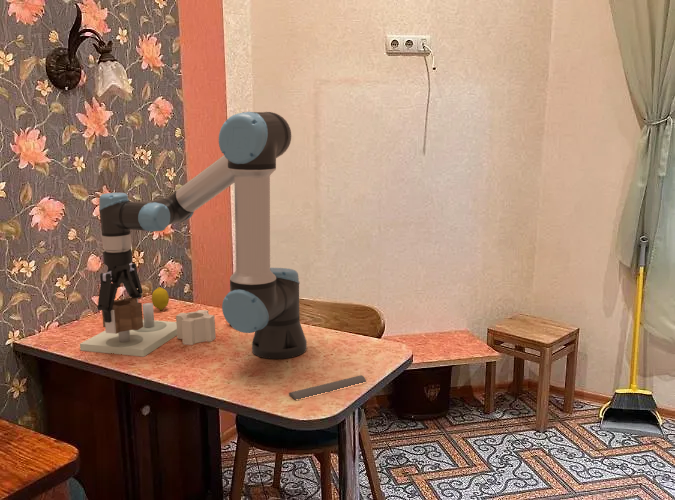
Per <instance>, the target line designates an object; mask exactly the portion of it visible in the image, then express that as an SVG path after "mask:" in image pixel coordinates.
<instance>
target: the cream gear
mask: <svg viewBox="0 0 675 500" xmlns="http://www.w3.org/2000/svg"><path fill="white" fill-rule="evenodd" d="M175 322H176V324H177V336H176V337H177V339H179V340H182V345H189V346H193V345H195V344H197V343H203V342H212V341H214V340H215V339H216V336H217V335H216V324H215V323H216V319H215V315H213V314H210V313H209V310H208V309H207V310H206V309H205V310H204V309H198V310H196V311H190V312H180V313H178V314H177V315H175Z"/></svg>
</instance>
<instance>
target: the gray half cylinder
mask: <svg viewBox="0 0 675 500" xmlns="http://www.w3.org/2000/svg"><path fill="white" fill-rule="evenodd" d="M363 382H366V383H367V380H366V377H365V376H364V375H361V374H360V375H357V376H352V377H348V378H345V379H341V380H336V381H332V382H327V383H325V384H319V385H315V386H312V387H307V388H302V389H299V390H295V391H291V392H288V395H289V396H290V397H291V398H292V397H293V398H292V399H294V400H295V401H296V399H301V398H305V397H309V396H313V395H317V394H321V393H325V392H330V391H333V390H337V389H340V388H344V387H348V386H351V385H355V384H359V383H363ZM330 393H331V392H330Z"/></svg>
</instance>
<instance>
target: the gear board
mask: <svg viewBox="0 0 675 500" xmlns="http://www.w3.org/2000/svg"><path fill="white" fill-rule="evenodd" d="M154 313H155V312H154V305H153V303H152V302H145V303H142V316H143V327H142V328H140V329H139V330H128V331H122V332H119V333H117V334H113V333H106V329H105V330H103V331H101V332H99V333H98V334H96V335H93V336H91V337H90V338H87V339H86V340H84V341H83V342H80V343H79V349H80V351H82V352H92V353H101V354H111V353H112V355H113V353H114V355H121V354H122V355H123V356H130V357H131V356H134V357H141V358H142V357H146V356H147V355H149V354H150V353H152V352H153V351H155V350H156V349H158V348H160V347H161V346H163V345H164V344H166V343H168V342H169V341H170V340H171V339H173V338H175V337H177V324H176V321H170V320H169V321H168V320H155V315H154Z"/></svg>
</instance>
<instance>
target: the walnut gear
mask: <svg viewBox="0 0 675 500" xmlns="http://www.w3.org/2000/svg"><path fill="white" fill-rule="evenodd" d="M108 306H109V305H108ZM112 310H114V313H115V326H116V333H115V334H117V333H119V332H122V331H128V330H139V329H140V328H142V327H143V319H144V317H143V303H142V302H138V303H137V298H131V297H126V298H123V299H115V300H114V304H113V308H112ZM101 314H102V326H103V327H102V328H105V321H104V312H103V310H101Z"/></svg>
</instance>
